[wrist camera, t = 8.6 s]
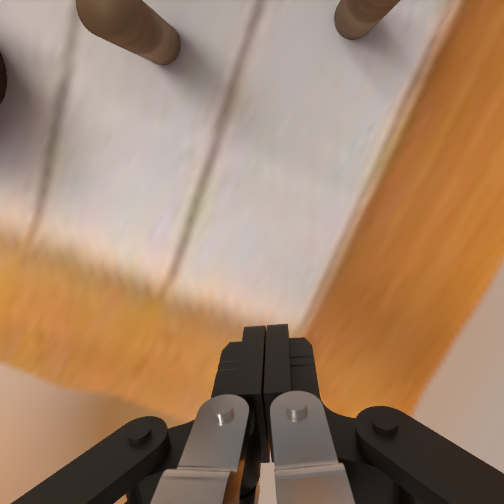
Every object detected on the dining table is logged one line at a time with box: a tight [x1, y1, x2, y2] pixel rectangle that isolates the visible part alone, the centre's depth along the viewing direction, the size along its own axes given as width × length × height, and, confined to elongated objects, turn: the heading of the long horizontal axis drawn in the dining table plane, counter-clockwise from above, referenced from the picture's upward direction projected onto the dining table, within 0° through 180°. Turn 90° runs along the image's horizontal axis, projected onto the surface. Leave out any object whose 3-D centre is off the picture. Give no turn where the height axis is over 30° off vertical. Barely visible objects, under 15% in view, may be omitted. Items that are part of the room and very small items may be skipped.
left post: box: [76, 0, 180, 65], centre depth 21 cm, size 2×2×9 cm
